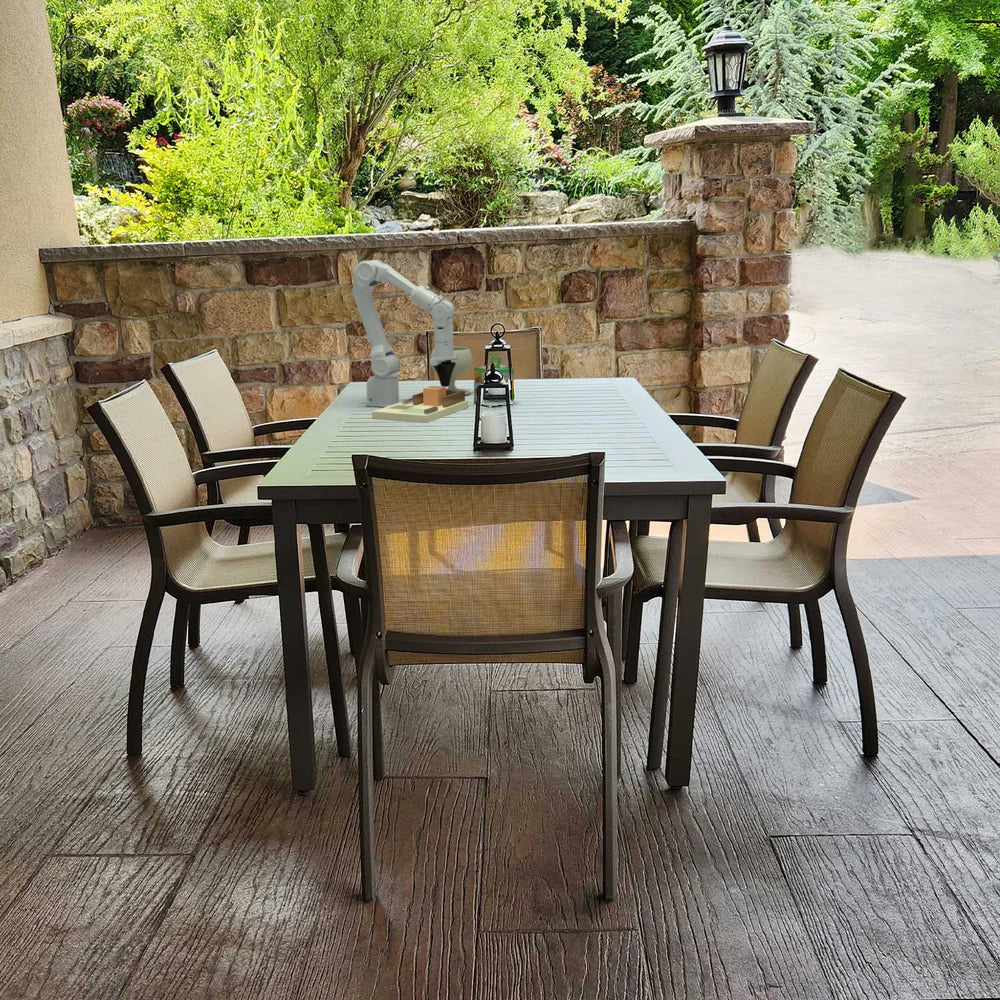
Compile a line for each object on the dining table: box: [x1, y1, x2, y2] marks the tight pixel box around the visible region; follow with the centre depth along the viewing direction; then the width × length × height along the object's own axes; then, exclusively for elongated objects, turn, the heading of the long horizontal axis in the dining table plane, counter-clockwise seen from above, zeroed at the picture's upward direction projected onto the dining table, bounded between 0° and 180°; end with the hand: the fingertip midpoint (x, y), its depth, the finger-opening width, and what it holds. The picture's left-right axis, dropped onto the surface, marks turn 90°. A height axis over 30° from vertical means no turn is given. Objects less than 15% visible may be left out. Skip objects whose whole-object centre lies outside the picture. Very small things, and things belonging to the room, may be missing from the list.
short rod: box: [424, 406, 438, 414], centre depth 288 cm, size 1×6×1 cm, turn 155°
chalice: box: [429, 345, 474, 396], centre depth 329 cm, size 14×14×15 cm
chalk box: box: [473, 355, 515, 405], centre depth 310 cm, size 9×9×15 cm
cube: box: [422, 385, 447, 406], centre depth 300 cm, size 5×5×5 cm
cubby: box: [412, 390, 466, 408], centre depth 303 cm, size 11×12×3 cm
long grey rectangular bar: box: [401, 396, 413, 405], centre depth 305 cm, size 3×9×1 cm, turn 155°
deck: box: [371, 400, 469, 424], centre depth 299 cm, size 18×26×2 cm
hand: (445, 386), depth 306 cm, fingers closed
